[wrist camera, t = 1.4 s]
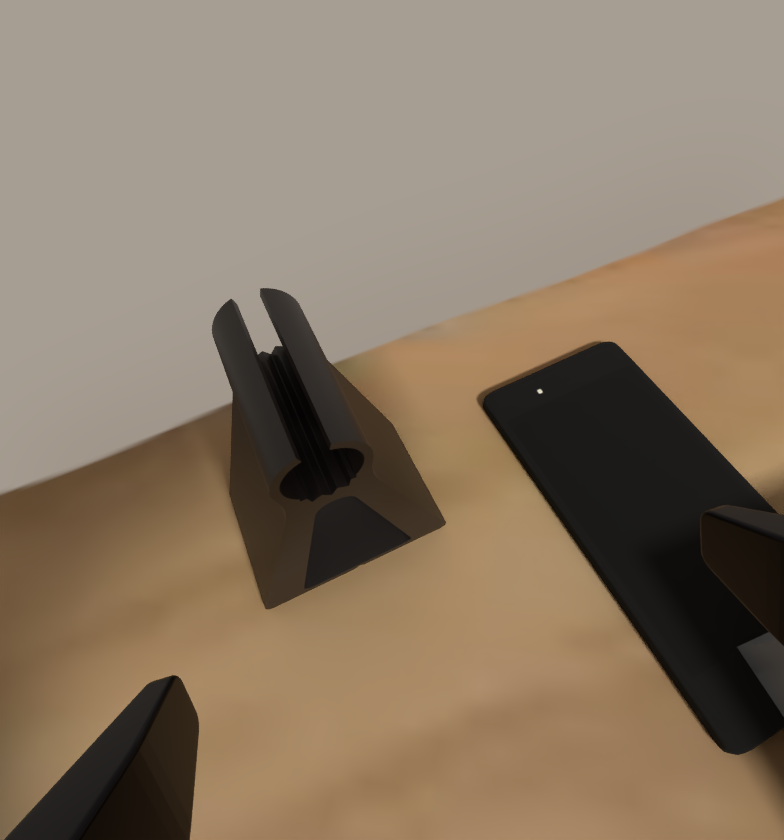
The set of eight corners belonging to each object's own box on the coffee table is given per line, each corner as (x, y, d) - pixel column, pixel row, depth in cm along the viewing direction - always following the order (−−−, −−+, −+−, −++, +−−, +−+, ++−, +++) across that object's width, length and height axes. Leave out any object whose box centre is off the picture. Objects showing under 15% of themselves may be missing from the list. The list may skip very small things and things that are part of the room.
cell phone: (722, 759, 18) (736, 762, 17) (477, 405, 27) (479, 396, 26) (884, 647, 20) (904, 645, 19) (606, 347, 28) (611, 337, 27)
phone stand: (267, 610, 21) (127, 529, 11) (232, 495, 24) (95, 344, 14) (446, 526, 23) (474, 385, 12) (393, 428, 26) (381, 246, 15)
